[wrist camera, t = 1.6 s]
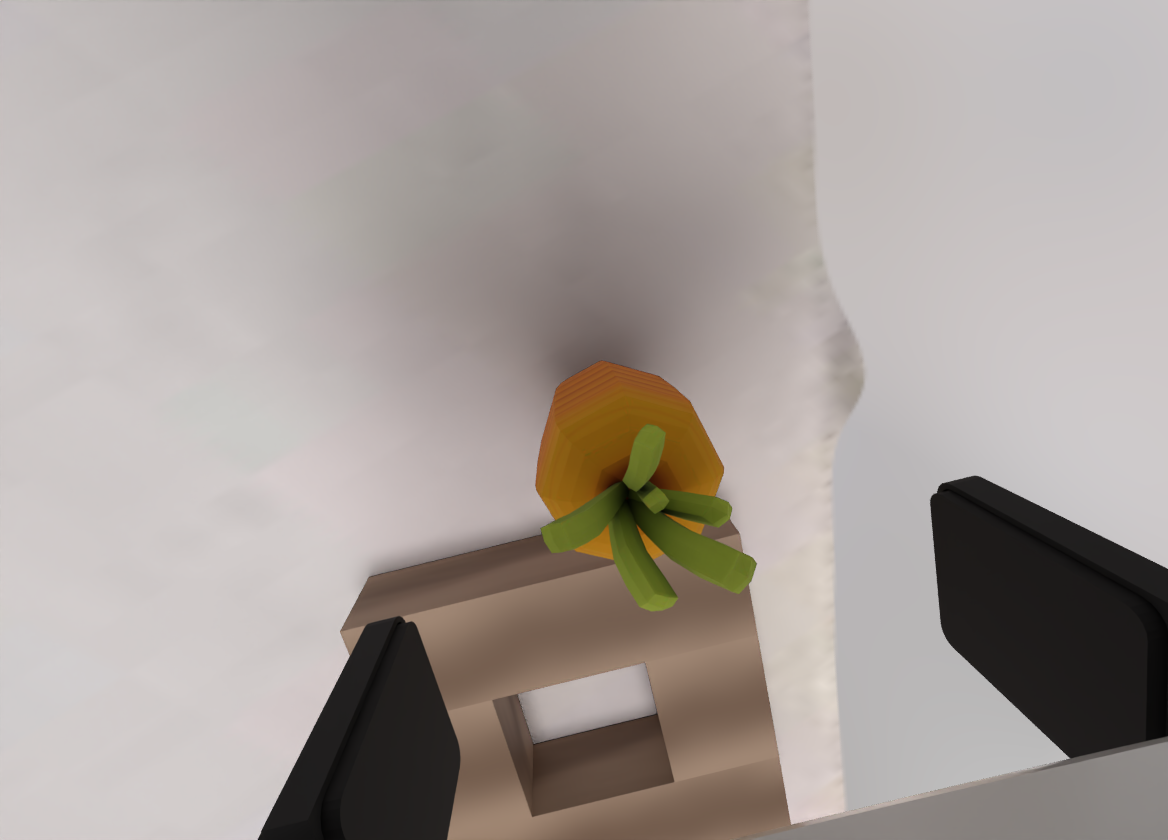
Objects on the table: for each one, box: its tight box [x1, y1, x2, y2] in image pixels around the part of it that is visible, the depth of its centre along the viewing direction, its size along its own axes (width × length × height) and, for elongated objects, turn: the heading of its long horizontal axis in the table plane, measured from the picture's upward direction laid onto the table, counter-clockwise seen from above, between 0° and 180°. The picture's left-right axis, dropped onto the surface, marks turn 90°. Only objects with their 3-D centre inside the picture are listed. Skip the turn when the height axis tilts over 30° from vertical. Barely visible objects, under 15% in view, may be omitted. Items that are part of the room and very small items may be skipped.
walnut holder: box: [340, 519, 791, 840], centre depth 27 cm, size 16×16×4 cm
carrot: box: [535, 361, 757, 611], centre depth 18 cm, size 5×5×15 cm
